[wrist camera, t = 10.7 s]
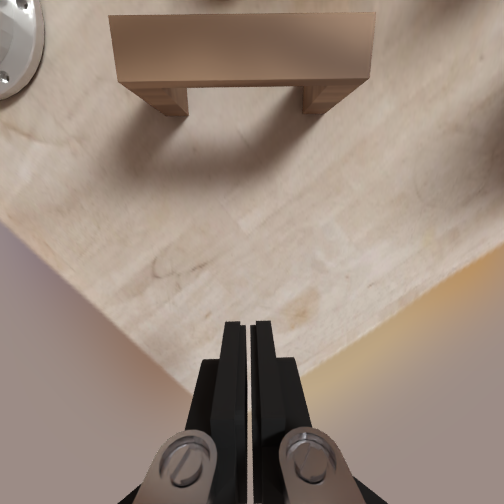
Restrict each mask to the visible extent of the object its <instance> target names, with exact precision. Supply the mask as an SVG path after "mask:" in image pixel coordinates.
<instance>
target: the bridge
mask: <svg viewBox="0 0 504 504" xmlns="http://www.w3.org/2000/svg"><path fill="white" fill-rule="evenodd" d="M108 18H109V24H110V31H111V38H112V45H113V52H114V59H115V65H116V72H117V79H118V82H119V83H120V84H122V85H123V86H125V87H126V88H127V89H129V90H130V91H132V92H133V93H134V94H136V95H137V96H139V97H140V98H141V99H143V100H144V101H146V102H147V103H148V104H150V105H151V106H153V107H154V108H155V109H157V110H158V111H160V112H161V113H163V114H164V115H165V116H189V112H188V100H187V88H206V87H274V86H303V109H302V114H323V113H326V112H327V111H329V110H330V109H331V108H332V107H334V106H335V105H336V104H337V103H339V102H340V101H341V100H343V99H344V98H345V97H346V96H348V95H349V94H350V93H351V92H353V91H354V90H355V89H356V88H358V87H359V86H360V85H361V84H363V83H364V82H365V81H366V80H368V79H369V78H370V68H371V58H372V48H373V38H374V28H375V18H376V12H356V13H272V14H189V15H108Z"/></svg>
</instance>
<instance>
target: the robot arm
mask: <svg viewBox="0 0 504 504" xmlns="http://www.w3.org/2000/svg"><path fill="white" fill-rule="evenodd" d="M43 45H44V21H43V15H42V9H41V4H40V1H39V0H0V100H2V99H6V98H8V97H10V96H12V95H14V94H16V93H18V92H19V91H20V90H21V89H22V88H23V87H24V86H26V85H27V84H28V82H29V81H30V80H31V78H32V77H33V75H34V74H35V72H36V70H37V67H38V65H39V62H40V60H41V56H42V51H43ZM250 333H251V400H252V448H253V449H252V451H253V496H254V504H388V503H387V502H385V501H384V500H383V499H381V498H380V497H379V496H378V495H376V494H375V493H374V492H373V491H371V490H370V489H369V488H368V487H366V486H365V485H364V484H363V483H361V482H360V481H358V480H357V479H356V478H355V477H353V476H352V474H351V472H350V470H349V468H348V465H347V463H346V461H345V459H344V457H343V455H342V453H341V451H340V449H339V448H338V446H337V445H336V443H335V442H334V441H333V440H332V439H331V438H330V437H329V436H328V435H327V434H325V433H324V432H322V431H320V430H318V429H315V428H312V425H311V421H310V417H309V413H308V409H307V405H306V401H305V397H304V393H303V389H302V385H301V381H300V377H299V373H298V369H297V365H296V361H295V359H294V357H285V358H276V353H275V347H274V340H273V334H272V327H271V321H256V325H250ZM118 504H247V352H246V325H240V321H235V322H225V327H224V333H223V340H222V346H221V353H220V359H203V360H202V363H201V367H200V371H199V375H198V379H197V383H196V387H195V391H194V395H193V399H192V403H191V407H190V411H189V415H188V419H187V423H186V427H185V431H182V432H179V433H177V434H175V435H174V436H172V437H170V438H169V439H168V440H167V441H166V442H165V443H164V444H163V445H162V446H161V447H160V449H159V450H158V452H157V454H156V455H155V457H154V459H153V461H152V463H151V465H150V468H149V470H148V472H147V474H146V476H145V478H144V480H143V482H142V484H140V485H139V486H138V487H137V488H136V489H134V490H133V491H132V492H131V493H130V494H129V495H127V496H126V497H125V498H124V499H123V500H121V501H120V502H119V503H118Z"/></svg>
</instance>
